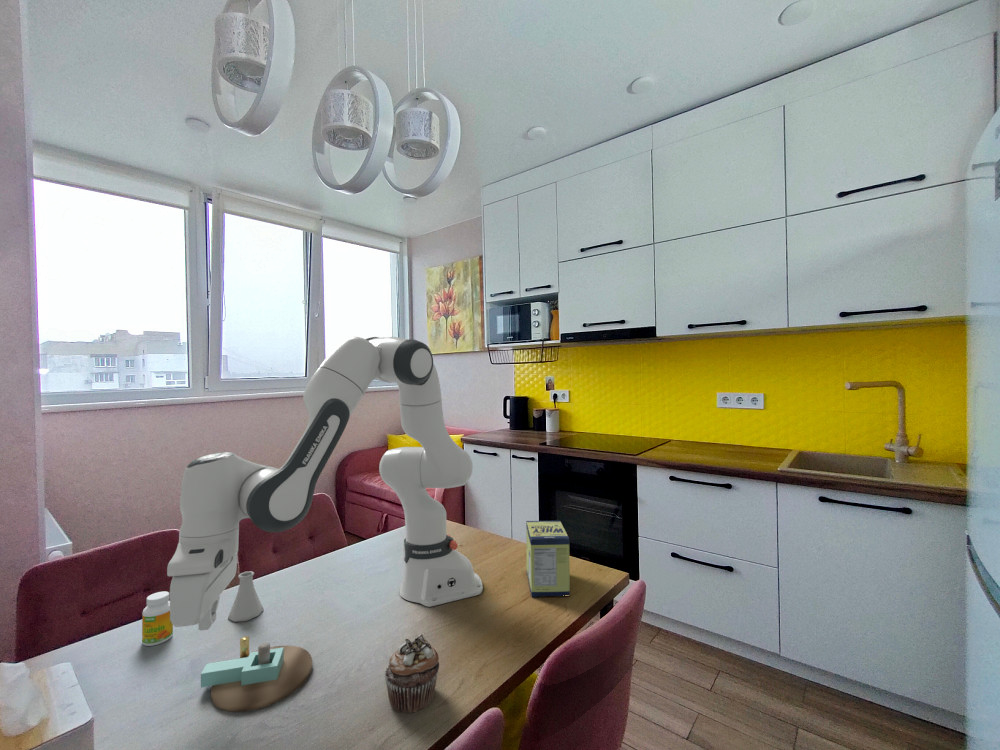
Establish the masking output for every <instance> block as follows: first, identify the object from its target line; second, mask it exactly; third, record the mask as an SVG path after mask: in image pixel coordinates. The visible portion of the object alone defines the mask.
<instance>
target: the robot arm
mask: <svg viewBox="0 0 1000 750" xmlns="http://www.w3.org/2000/svg"><path fill="white" fill-rule="evenodd" d="M318 366H319V367H318V368H317V369H316V370H315V372H314V373H313V374H312V376H311V377H310V379H309V381H308V383H307V385H306V387H305V390H304V392H303V395H302V396H303V398H302V399H303V403H304V406H305V409H306V411H307V413H308V414H307V415H308V423H307V426H306V428H305V430H304V432H303V433H302V435H301V437H300V438H299V439H298V442H297V443H296V445H295V446H294V448H293V450H292V451H291V453H290V455H289V456H288V458H287V459H286V461H285V462H284V464H283V465H282V466H281V467H279V468H277V467H274V466H269V465H264V464H260V463H257V462H256V463H255V462H253V461H250V460H248V459H246V458H243V457H241V456H239V455H237V454H236V453H235V452H230V451H225V452H224V451H223V452H216V453H210V454H207V455H203V456H199V457H198V458H195V459H193V460H192V461H191V462H189V464H187V466H186V467H185V468H184V472H183V475H182V481H181V485H180V486H181V487H180V498H179V499H180V501H179V502H180V503H179V510H180V513H181V517H182V518H181V519H182V523H181V526H180V529H179V532H178V534H179V535H178V543H177V547H176V549H175V552H174V554H173V556H172V557H171V559H170V560H169V562H168V564H167V569H166V571H167V572H166V573H167V577H172V579H171V581H170V586H169V601H170V618H171V622H172V624H173V628H181V627H190V626H195V625H198V630H199V631H208V630H209V629H210V628H211V627H212V625H213V624H214V623H215V621H216V620H217V610H218V607H219V602H220V597H221V594H223V592H224V591H225V590H226V589H227V587H228V586H229V585H230V583H231V581H232V580H233V579H234V578H235V576H236V574H237V569H238V568H237V567H238V566H237V565H238V562H237V560H238V559H237V553H239V532H240V522H241V521H242V520H244V519H250V521H252V523H253V524H254V526H255V527H256V528H258V529H260V530H261V531H263V532H267V533H281V532H286V531H287V530H290V529H293V528H294V527H295V526H297V525H298V524H300V523H301V522H302V521H303V520H304V519H305V517H306V516H307V515H308V513H309V511H310V508H311V506H312V503H313V500H314V495H315V494H314V493H315V489H316V485H317V482H318V480H319V479H320V478H319V477H320V476H321V474H322V472H323V470H324V468H326V467H325V466H326V465H327V463H328V461H329V459H330V457H331V455H333V452H334V450H335V449H336V447H337V445H338V443H339V441H340V439H341V437H342V436H343V434H344V432H345V429H346V427H347V424H348V423H349V420H350V418H351V416H352V413H353V412H354V410H355V409H356V407H357V406H358V405H359V403H360V401H361V400H362V398H363V396H364V395H365V393H366V392H367V390H368V389H369V386H370V385H371V384H372V382H373V381H374V380H377V381H380V382H385V383H396V384H397V386H398V399H399V400H398V401H399V410H400V411H399V412H400V423H401V428H402V430H403V432H404V433H405V434H406V436H408V437H410V438H411V439H413V440H415V441H417V442H418V443H419V444H420V445H421V446H402V447H401V446H400V447H396V448H392V449H388V450H386V452H384V453H383V455H382V457H381V459H380V461H379V465H378V466H379V467H378V469H379V470H378V471H379V476H380V479H381V480H382V481H383V483H385V485H387V486H388V487H390V488H391V490H392V491H393V492H394V493H395V494H396V496H397V498H398V499H399V501H400V503H401V506H402V509H403V513H404V522H405V523H404V525H405V538H404V540H403V561H404V567H403V575H402V580H401V585H400V589H399V595H400V597H402V598H403V599H404V600H407V601H409V602H413V603H417V604H421V605H422V606H424V607H429V608H430V607H434V606H438V605H442V604H447V603H451V602H455V601H458V600H459V601H460V600H463V599H467V598H471V597H475V596H478V595H480V594H482V593H483V589H484V587H483V581H482V579H481V577H480V576H479V574H478V573H476V572H474V567H473V565H472V563H471V561H470V560H469V558H468V557H466V556H465V555H464V554H462V553H461V552H459V551H458V550H457V548H458V546H459V545H458V543H457V542H456V540H454V538H453V537H452V536H451V535H450V534H447V511H446V508H445V507H444V505H443V504H442V503H441V502H440V501H438V500H436V499H434V498H433V497H432V496H431V495H430V494H429V492H428V490H427V489H452V488H457V487H462V486H465V485H466V484H467V483H468V482H469V481H470V478H471V476H472V474H473V471H474V470H473V469H474V468H473V460H472V458H471V456H470V454H469V453H468V452H467V451H466V450H465V449H463V448H462V447H461V446H459V445H458V444H457V443H456V442H455V441H454V440H453V439H452V437H451V436H450V434H449V432H448V430H447V427H446V424H445V418H444V412H443V401H442V391H441V384H440V377H439V374H438V370H437V367H436V365H435V364H434V357H433V354H432V351H431V349H430V348H429V346H428V345H427V344H426V343H424V342H422V341H419V340H417V339H414V338H411V339H410V338H409V339H407V338H405V337H404V338H403V337H397V336H389V337H386V336H385V337H383V336H382V337H379V336H373V337H368V338H363V337H360V336H349V337H348V338H347V337H346V338H345V339H344V340H342V341H341V342H340V343H339V344H338V345H337V346H336V347H335V348H334V349H333V350H332V351H330V353H329V354H328V355H327V357H326V358H325V359H324V360H323V362H321V364H320V365H318Z"/></svg>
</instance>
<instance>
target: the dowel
mask: <svg viewBox="0 0 1000 750" xmlns="http://www.w3.org/2000/svg"><path fill="white" fill-rule="evenodd" d="M249 653H250V636H248V635H245V636H243V637H241V638H240V639H239V658H246V657H249Z"/></svg>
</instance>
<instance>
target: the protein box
mask: <svg viewBox="0 0 1000 750" xmlns="http://www.w3.org/2000/svg"><path fill="white" fill-rule="evenodd" d="M525 524H526V527H525V528H526V531H525V532H526V535H525V536H526V540H525V541H526V543H525V544H526V547H525V548H526V576H528V577H527V582H528V581H529V582H528V585H529V593H530V592H531V593H530V597H531V596H533V597H532V598H541V597H540V596H563V595H564V596H565V595H570V590H571V587H570V586H571V585H570V584H571V583H570V580H571V579H570V577H571V576H570V575H571V573H570V570H571V569H570V568H571V567H570V537H569V536H568V534H567V531H566V529H565V528H564V526H563V524H562V522H561V520H526V523H525ZM537 596H539V597H537Z"/></svg>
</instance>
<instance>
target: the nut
mask: <svg viewBox="0 0 1000 750" xmlns="http://www.w3.org/2000/svg"><path fill="white" fill-rule="evenodd" d="M256 651H257V652H255V651H252V652H251V651H249V653H250V654H249V657H246V658H240V657H239V658H234V659H229V660H227V659H226V660H221V661H216V662H209V663H206V664H205V666H204V667H203V669H202V671H201V672H200V688H201V689H202V688H207V687H212V686H213V685H219V684H225V683H231V682H236V681H241V686H242V685H247V684H253V683H259V682H265V681H270V680H276V679H278V676H279V672H280V669H281V666H282V663H283V660H284V647H282V648H276V649H270V663H269V664H263V665H258V650H256Z"/></svg>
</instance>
